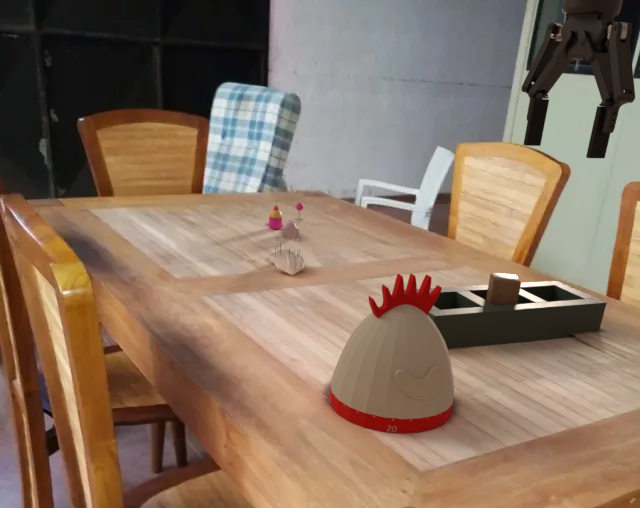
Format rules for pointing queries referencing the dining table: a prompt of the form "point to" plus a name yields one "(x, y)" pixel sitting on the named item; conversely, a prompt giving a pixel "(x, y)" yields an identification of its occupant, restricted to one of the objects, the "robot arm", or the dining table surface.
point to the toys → (288, 226)
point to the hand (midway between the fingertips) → (561, 151)
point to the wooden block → (503, 289)
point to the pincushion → (287, 260)
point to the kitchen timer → (396, 365)
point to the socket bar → (514, 314)
